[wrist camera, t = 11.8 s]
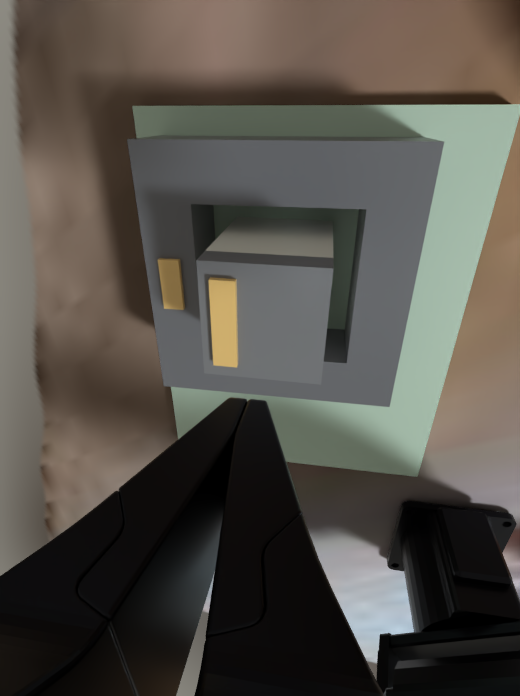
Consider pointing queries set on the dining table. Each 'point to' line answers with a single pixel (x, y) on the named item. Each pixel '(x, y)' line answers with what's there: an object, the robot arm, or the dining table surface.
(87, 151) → the dining table surface
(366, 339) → the grey flat square frame
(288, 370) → the plug
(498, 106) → the circuit board
